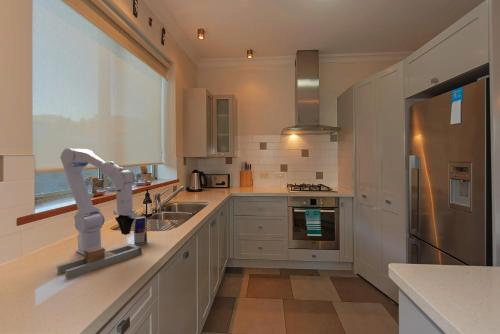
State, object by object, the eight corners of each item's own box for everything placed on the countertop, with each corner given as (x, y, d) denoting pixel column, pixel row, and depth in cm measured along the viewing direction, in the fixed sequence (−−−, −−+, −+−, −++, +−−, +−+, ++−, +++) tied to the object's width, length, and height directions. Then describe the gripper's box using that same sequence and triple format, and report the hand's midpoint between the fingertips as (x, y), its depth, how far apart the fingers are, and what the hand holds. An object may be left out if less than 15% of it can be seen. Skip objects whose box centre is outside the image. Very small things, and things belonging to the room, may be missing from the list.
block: (84, 266, 92) (83, 249, 92) (109, 258, 99) (109, 242, 99) (90, 269, 89) (89, 252, 89) (115, 260, 97) (115, 244, 96)
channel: (57, 272, 87) (57, 265, 87) (130, 249, 108) (130, 243, 108) (67, 279, 82) (67, 271, 82) (141, 253, 103) (141, 247, 103)
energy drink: (142, 245, 113) (141, 218, 112) (131, 245, 114) (130, 218, 114) (149, 241, 118) (148, 216, 118) (139, 241, 119) (138, 215, 119)
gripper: (144, 200, 101) (145, 234, 101) (124, 197, 109) (126, 229, 110) (126, 203, 95) (128, 238, 95) (107, 200, 103) (109, 233, 104)
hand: (125, 234), depth 102 cm, fingers closed
